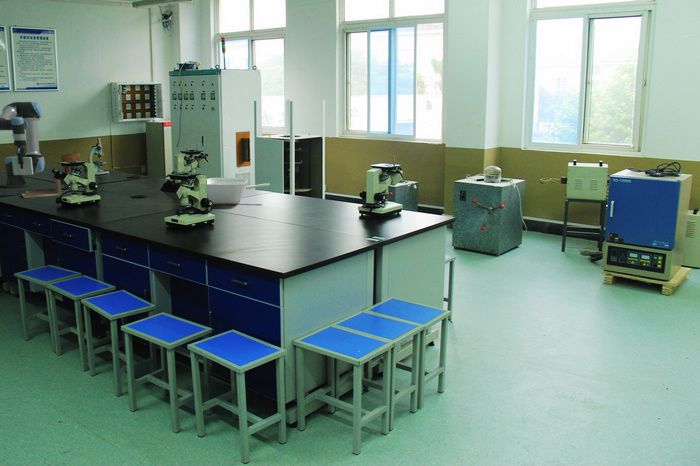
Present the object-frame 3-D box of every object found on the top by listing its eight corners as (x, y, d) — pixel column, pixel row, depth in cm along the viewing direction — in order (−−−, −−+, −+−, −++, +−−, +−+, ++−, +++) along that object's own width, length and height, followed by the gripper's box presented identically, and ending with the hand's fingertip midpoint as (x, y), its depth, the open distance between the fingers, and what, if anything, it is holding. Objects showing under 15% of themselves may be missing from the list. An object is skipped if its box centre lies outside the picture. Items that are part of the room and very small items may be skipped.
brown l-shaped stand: (22, 195, 426) (19, 171, 422) (58, 192, 439) (56, 169, 435) (24, 198, 416) (21, 173, 412) (62, 195, 430) (59, 171, 426)
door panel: (14, 174, 428) (12, 157, 425) (33, 173, 431) (31, 157, 428) (13, 174, 425) (11, 158, 422) (32, 174, 428) (30, 157, 425)
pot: (209, 198, 426) (208, 177, 423) (271, 199, 428) (271, 178, 424) (200, 206, 398) (199, 184, 395) (267, 207, 400) (267, 184, 396)
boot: (94, 185, 473) (91, 151, 467) (99, 186, 467) (96, 152, 460) (61, 188, 456) (57, 153, 450) (65, 190, 450) (61, 154, 443)
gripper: (16, 138, 428) (20, 171, 434) (10, 140, 413) (14, 174, 419) (28, 138, 430) (31, 171, 436) (22, 140, 415) (26, 174, 421)
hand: (23, 172), depth 427 cm, fingers closed on door panel, 3 cm apart
